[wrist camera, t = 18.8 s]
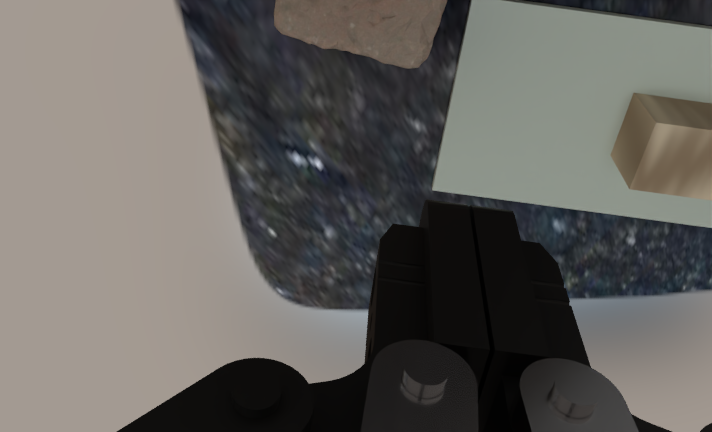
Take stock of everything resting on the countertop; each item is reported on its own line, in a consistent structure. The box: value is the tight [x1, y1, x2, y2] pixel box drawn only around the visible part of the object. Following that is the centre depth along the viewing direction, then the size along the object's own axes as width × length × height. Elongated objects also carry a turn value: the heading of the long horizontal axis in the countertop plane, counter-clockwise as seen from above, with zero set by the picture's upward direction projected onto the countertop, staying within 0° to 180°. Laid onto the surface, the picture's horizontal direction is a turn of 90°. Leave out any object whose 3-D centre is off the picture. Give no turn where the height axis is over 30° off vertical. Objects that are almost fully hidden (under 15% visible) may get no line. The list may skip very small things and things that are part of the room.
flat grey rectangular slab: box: [432, 0, 712, 228], centre depth 39 cm, size 12×18×1 cm, turn 83°
